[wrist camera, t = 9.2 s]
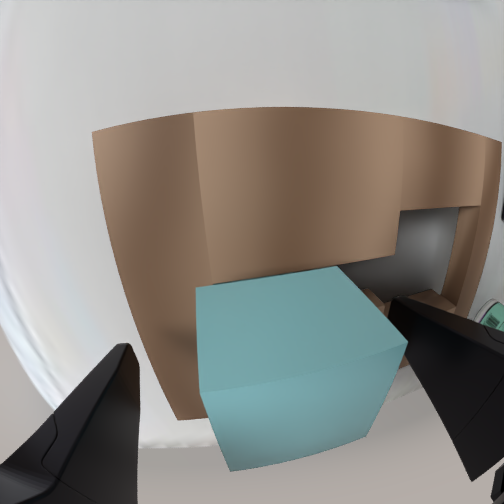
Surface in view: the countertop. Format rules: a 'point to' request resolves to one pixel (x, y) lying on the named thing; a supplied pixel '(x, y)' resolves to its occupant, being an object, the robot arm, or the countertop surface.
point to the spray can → (491, 315)
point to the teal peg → (292, 364)
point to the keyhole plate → (278, 209)
